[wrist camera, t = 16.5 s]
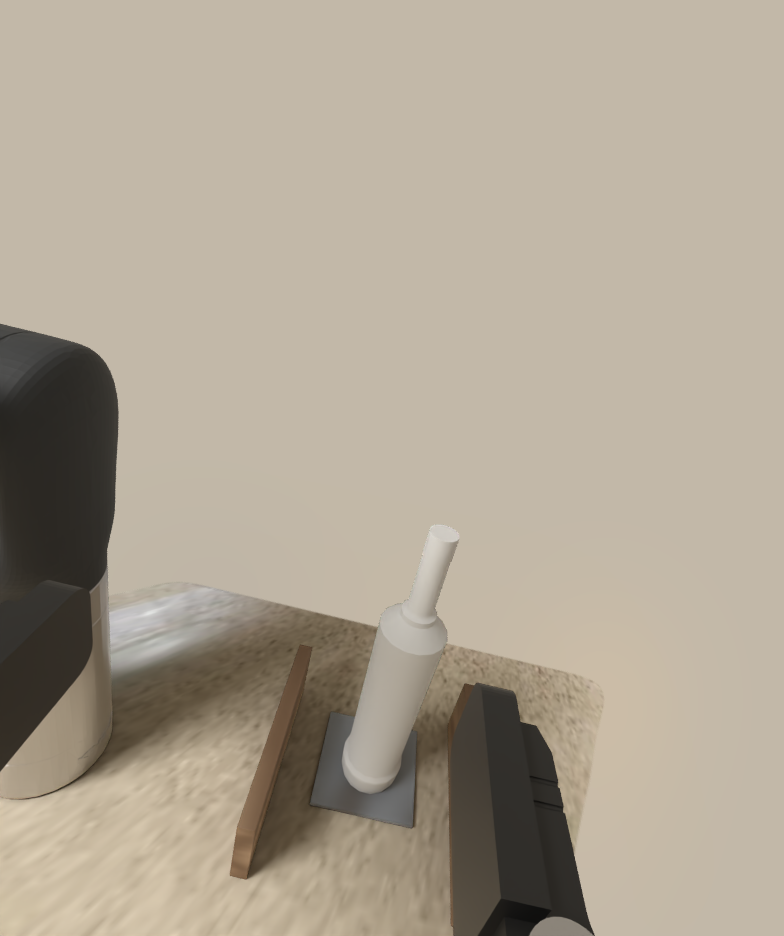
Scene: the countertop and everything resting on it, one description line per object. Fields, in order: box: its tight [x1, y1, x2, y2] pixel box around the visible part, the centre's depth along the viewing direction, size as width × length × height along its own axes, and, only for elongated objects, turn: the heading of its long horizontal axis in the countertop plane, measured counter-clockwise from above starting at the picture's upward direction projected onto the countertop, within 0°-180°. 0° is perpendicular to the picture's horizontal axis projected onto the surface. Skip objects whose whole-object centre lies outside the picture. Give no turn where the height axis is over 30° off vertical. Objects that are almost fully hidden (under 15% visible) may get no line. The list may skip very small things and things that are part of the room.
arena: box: [230, 645, 474, 927], centre depth 41 cm, size 17×16×6 cm
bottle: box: [342, 524, 459, 794], centre depth 38 cm, size 5×5×25 cm
